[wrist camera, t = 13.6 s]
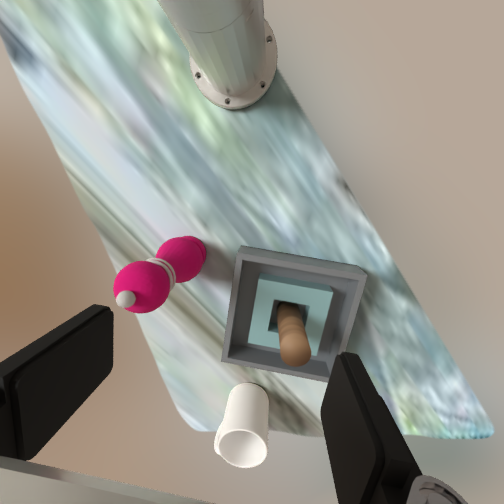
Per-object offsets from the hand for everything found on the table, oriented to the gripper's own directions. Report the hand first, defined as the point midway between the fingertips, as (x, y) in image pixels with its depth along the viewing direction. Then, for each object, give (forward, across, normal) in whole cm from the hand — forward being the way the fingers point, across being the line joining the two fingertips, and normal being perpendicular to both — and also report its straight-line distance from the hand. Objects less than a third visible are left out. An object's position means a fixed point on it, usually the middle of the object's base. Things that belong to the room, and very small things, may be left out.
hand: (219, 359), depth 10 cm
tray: (+32, -7, +13) cm, 36 cm away
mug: (+32, -2, +36) cm, 49 cm away
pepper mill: (+32, +12, +6) cm, 35 cm away
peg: (+31, -7, +13) cm, 34 cm away
